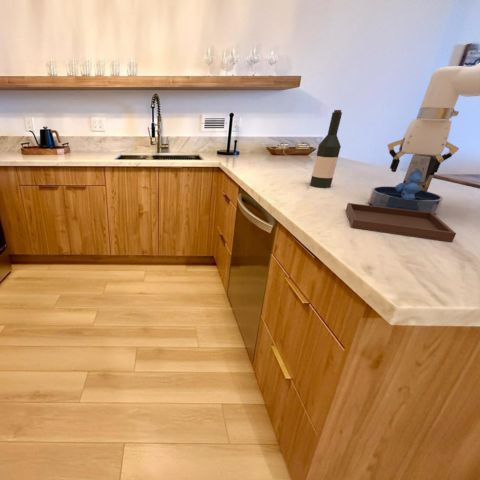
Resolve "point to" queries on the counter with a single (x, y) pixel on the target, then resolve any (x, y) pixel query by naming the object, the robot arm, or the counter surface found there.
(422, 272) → the counter surface
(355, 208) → the tray
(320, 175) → the wine bottle
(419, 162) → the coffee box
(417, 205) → the bowl
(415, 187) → the grapes
